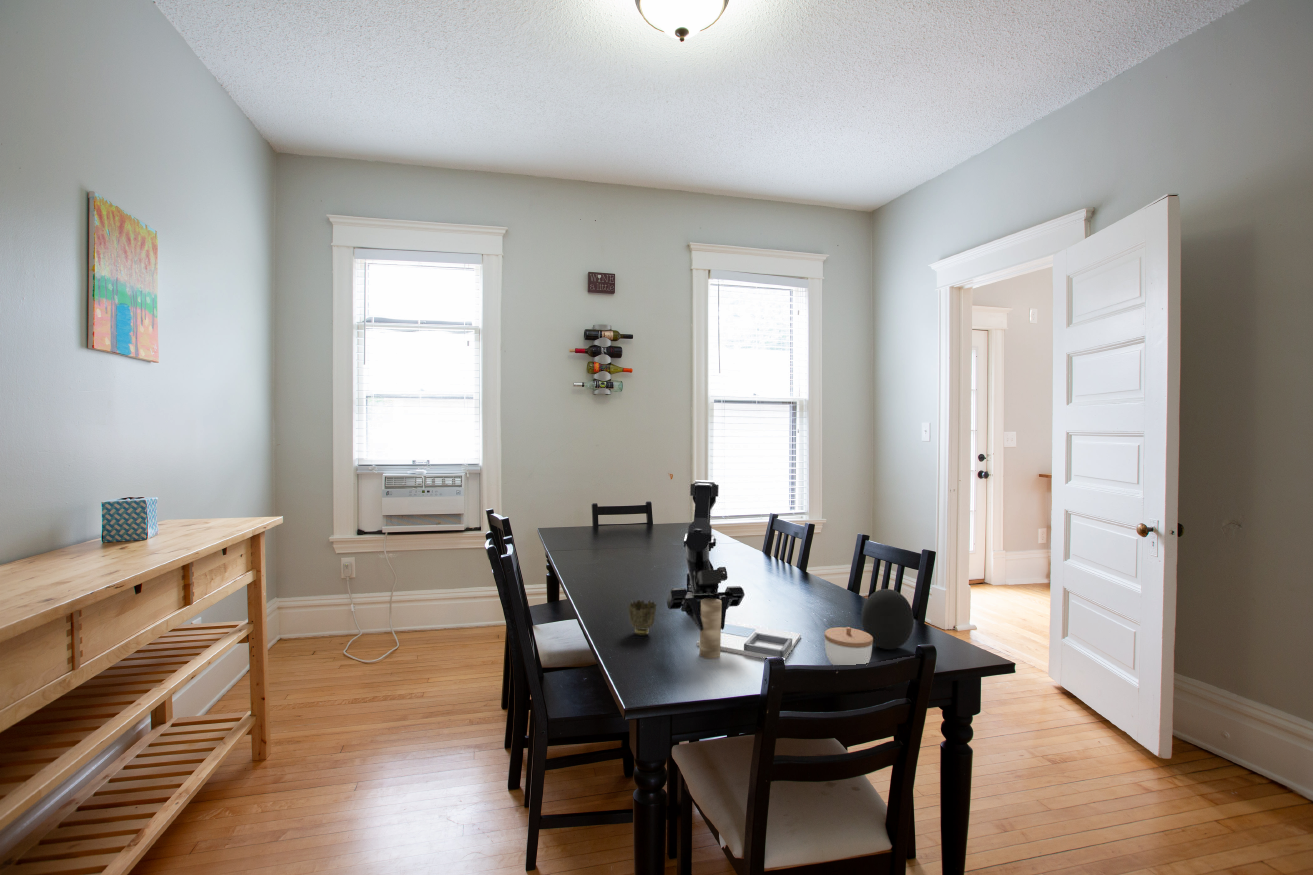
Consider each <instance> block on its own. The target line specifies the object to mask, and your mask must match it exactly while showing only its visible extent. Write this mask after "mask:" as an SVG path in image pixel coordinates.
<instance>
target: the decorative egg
mask: <svg viewBox="0 0 1313 875" xmlns="http://www.w3.org/2000/svg"><path fill="white" fill-rule="evenodd" d="M865 600H866V601H864V604H863V607H862V609H861V610H862V611H861V625H862V629H863V631H864V632H866V633H868V634H870V635H871V636H872V637H873V643H872V645H873V644H874V646H876V647H878V648H880V649H883V650H895V649H898V648H900V647H902V646H904V644H905V643H907V641H908V640H909V639H910V637H911V636H912V633H913V629H914V623H915V621H914V620H915V618H914V612H913V609H912V606H911V604H910V602H909V601H908V598H906V597H905V596H904V595H903V594H901V592H898V591H897V590H895V589H890V588H881V589H878V590H876V591H875V592H873V593H871V594H870V595H869V596H868V598H867V599H865Z"/></svg>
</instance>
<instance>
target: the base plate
mask: <svg viewBox="0 0 1313 875" xmlns="http://www.w3.org/2000/svg"><path fill="white" fill-rule="evenodd" d="M801 636H802V635H801V633H797V632H791V631H786V630H780V629H774V628H769V627H768V628H767V627H763V626H757V625H751V624H744V623H738V622H732V621H726V620H725V625H724V629H723V630H722V629H721V644H720V651H724V652H728V653H734V654H739V655H743V656H749V657H755V658H759V657H760V658H759V659H765V658H767V657H783V658H785V660H786V659H787V658H788V657H787V656H789V655H790V654H791V652H792V651H793V650H794V649H795V647H794V646H796V645H797V644H798V643H799V641H800V639H801ZM696 646H697V647H700V638H699V640H697V641H696ZM791 650H792V651H791ZM789 653H790V654H789ZM788 654H789V655H788ZM762 657H764V658H762ZM765 660H766V659H765Z"/></svg>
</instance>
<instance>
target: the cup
mask: <svg viewBox="0 0 1313 875" xmlns="http://www.w3.org/2000/svg"><path fill="white" fill-rule="evenodd" d="M656 611H657V603H655V601H650V600H649V601H648V602H647V603H645V602H644V600H640V599H637V600H636V601H635V600H633V601H632V602H631V601H630V602H629V603H628V614H629V615H628V616H629V623H630V624H631V626H632V628H634V632H635V633H634V634H636V635H637V636H646V635H648V634H649V633H650V632H649V629H650V628H652V626H653V624H654V622H655V616H656V613H657V612H656Z"/></svg>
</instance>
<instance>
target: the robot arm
mask: <svg viewBox="0 0 1313 875" xmlns="http://www.w3.org/2000/svg"><path fill="white" fill-rule="evenodd" d="M715 482H716V480H701V479H700V480H698V479H695V481H694V483H690V488H689V489H690V491H689V492H690V493H689V495H690V496H691V497H692V501H693V503H694V510H693V511H694V513H693V521H691V523H690V524H688V529H687V533H685V536H684V540H683V547H684V548H685V551H686V558H685V559H686V565H687V570H688V571H687V572H686V587H680V588H679V587H677V588H676V587H675V588H671V590H669V593H668V595H667V599H666V605H667V609H668V610H680V611H681V612H683V613H685V614H686V615H688V617H689V618H690V619H691V620H692V621H693V623H694V624H695V626H696V627H697V628H698V629H699V632H700V631H702V630H703V626H702V621H701V600H702V599H706V598H713V599H718V600H721V601H722V609H721V629H722V630H723V629H724V625H725V621H726V613H727V610H729V608H730V607H738V606H740V604H741V602H742V601H743V599H744V597H745V591H744V589H743V587H742V586H740V585H736V586H735V585H733V586H730V585H729V586H726V588H725V590H724V591H720V592H718V591H719V587H720V586H719V584H722V582H725V581H727V580H728V578H729V577H728V571H727V568H726V566H718V567H717V568H716V569H714V566H713V564H712V562H711V560H710V552H711V551H712V549H714V548H715V547H717V546H716V545H717V538H716V537H715V534H713V532H712V530H713V529H712V527H713V526H712V525H711V512H712V509H713V508H714V505H715V504H716V502H717V498H718V497H719V484H716V483H715Z"/></svg>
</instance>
